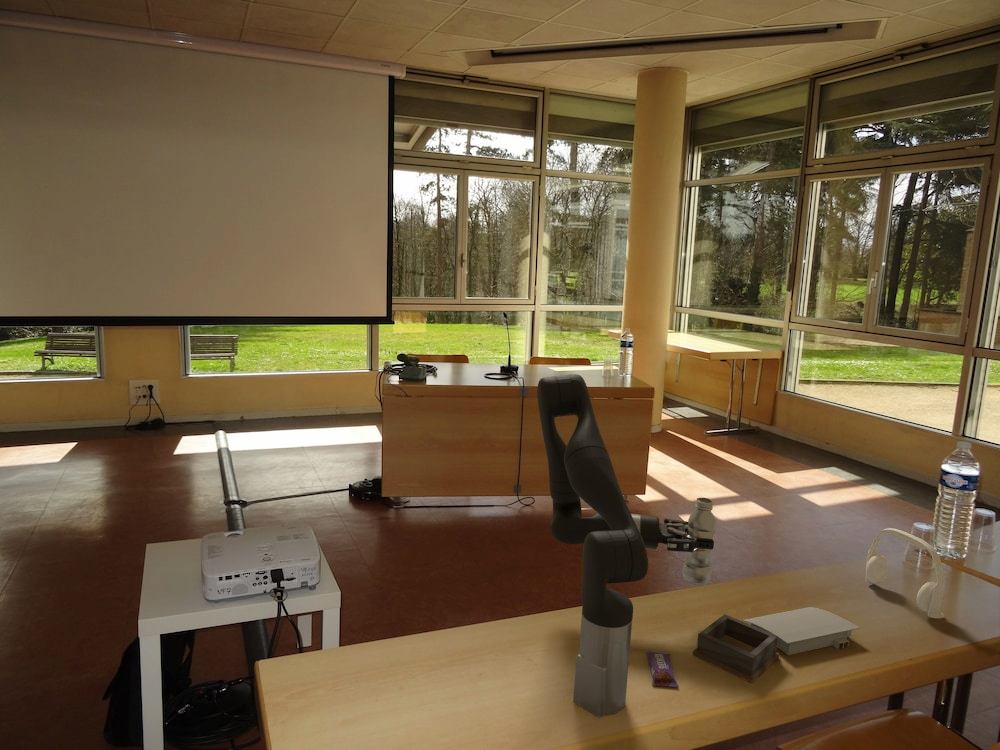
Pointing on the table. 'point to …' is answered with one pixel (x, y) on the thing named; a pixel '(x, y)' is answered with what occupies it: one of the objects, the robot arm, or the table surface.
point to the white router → (805, 629)
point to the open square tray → (737, 647)
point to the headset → (929, 592)
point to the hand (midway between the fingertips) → (711, 538)
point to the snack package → (661, 669)
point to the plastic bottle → (700, 559)
